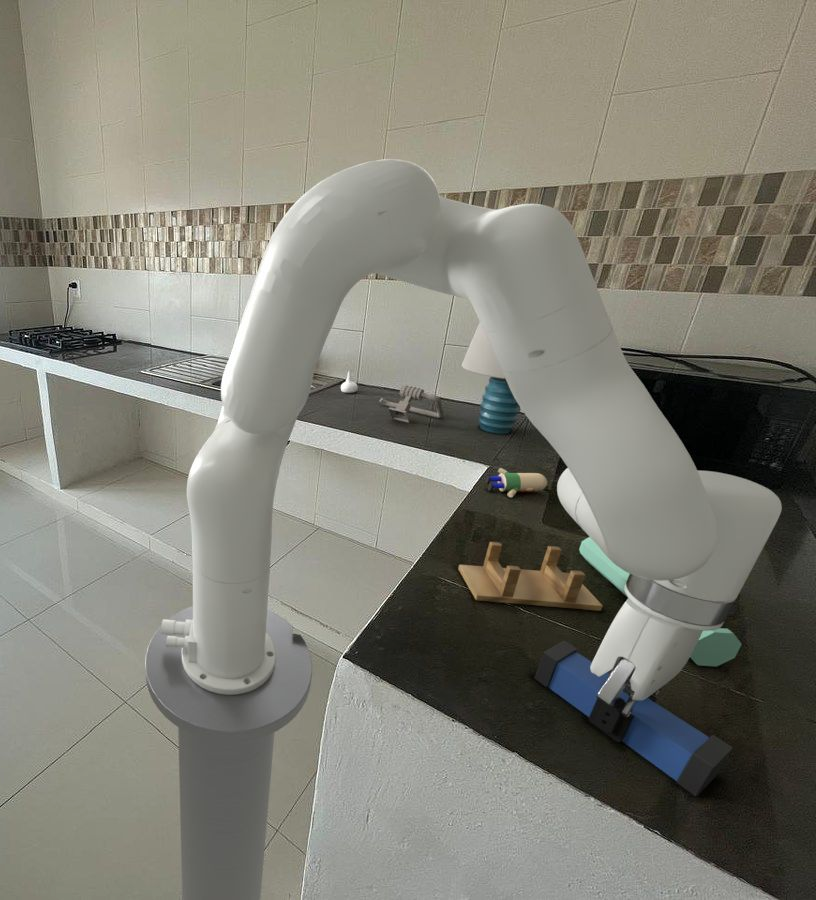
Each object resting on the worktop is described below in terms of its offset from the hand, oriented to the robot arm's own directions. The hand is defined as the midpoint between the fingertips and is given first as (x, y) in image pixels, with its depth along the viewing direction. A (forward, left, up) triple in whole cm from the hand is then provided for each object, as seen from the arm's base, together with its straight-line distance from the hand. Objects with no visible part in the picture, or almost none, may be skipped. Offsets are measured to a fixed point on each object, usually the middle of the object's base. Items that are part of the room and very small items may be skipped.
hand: (616, 720), depth 55 cm
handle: (0, 0, 0) cm, 0 cm away
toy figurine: (+15, +60, 0) cm, 62 cm away
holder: (+1, +24, 0) cm, 24 cm away
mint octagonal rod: (+17, +23, 0) cm, 29 cm away
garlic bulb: (-11, +141, 0) cm, 141 cm away
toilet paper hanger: (+2, +113, 0) cm, 113 cm away
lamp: (+28, +104, 0) cm, 108 cm away
